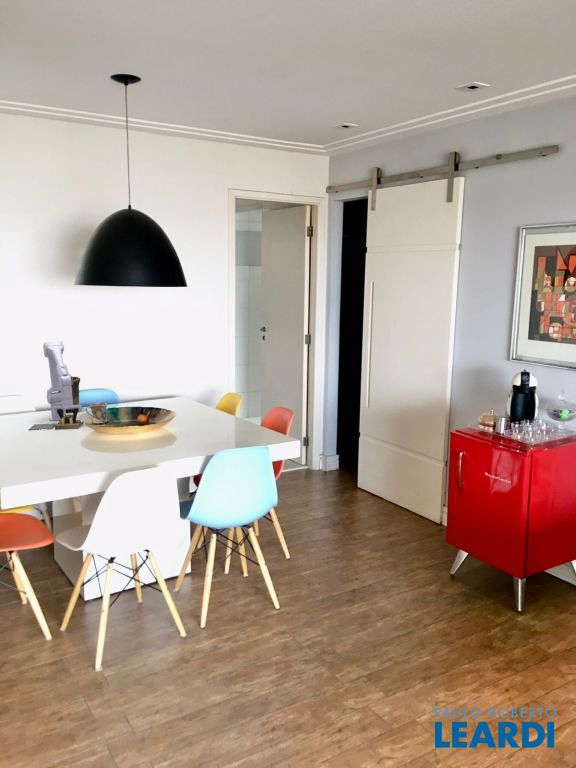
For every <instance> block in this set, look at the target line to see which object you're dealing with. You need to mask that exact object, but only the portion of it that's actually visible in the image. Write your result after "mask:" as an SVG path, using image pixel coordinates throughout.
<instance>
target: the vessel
mask: <svg viewBox="0 0 576 768" xmlns="http://www.w3.org/2000/svg"><path fill="white" fill-rule="evenodd" d="M72 379H73V385H71V386H72V397H73V405H80V383H81V378H80V377H79V376H72ZM57 392H61V391H57ZM72 410H74V409H66V415H72V414H73V411H72ZM80 412H81V409H79V411H78V413H80Z"/></svg>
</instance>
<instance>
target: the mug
mask: <svg viewBox="0 0 576 768" xmlns="http://www.w3.org/2000/svg"><path fill="white" fill-rule="evenodd" d="M107 406H108V402H103V401H102V402H93V403H91V404H89V406H86V407H85V412H86V413H87V414H88V416H90V417H91V418H92V417H93V418H96V419H98V420H100V421H104V422H106V421H108V422H109V420H108V418H107V415H106V412H107V411H106V410H107ZM88 408H90V409H91V411H92V413H91V414H90V412H89V411H88ZM93 418H92V419H93ZM106 423H107V422H106Z"/></svg>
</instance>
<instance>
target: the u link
mask: <svg viewBox="0 0 576 768" xmlns="http://www.w3.org/2000/svg"><path fill="white" fill-rule="evenodd" d="M67 417H70V424H73V423H74V417H73V414H66V415H64V416H63V417H62V418H61V420H62V425H65V424H66V423H67ZM61 420H60V421H61Z"/></svg>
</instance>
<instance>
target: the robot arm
mask: <svg viewBox="0 0 576 768" xmlns="http://www.w3.org/2000/svg"><path fill="white" fill-rule="evenodd" d="M64 351H65V346H64V343H63V341H52V342H44V343H43V355H44V357H45V358H47V360H48V366H49V367H48V369H49V375H50V376H49V377H50V384H51V385H50V386H51V387H49V389H47V390H46V401H47V404H49V405H50V413H51V418H50V419H49V421H50V422H52V421H62V420H61V418H62V417H63V416H64V415H67V414H66V409H74V410H72V411H73V413H72V415H73V417H74V423H75V422H76V420H77V417H78V413H79V412H78V411H80V410H82V409H83V406H82V404H79V405H73V397H72V386H71V385H73V379H72V377H73V376H72V374H71V372H70V371H69V370H68V366H67V365H66V364H65V363H64V359H63V355H64ZM58 391H61V392H58ZM79 409H80V410H79Z"/></svg>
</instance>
